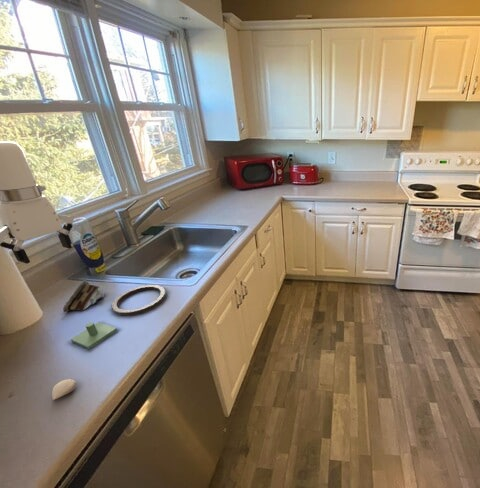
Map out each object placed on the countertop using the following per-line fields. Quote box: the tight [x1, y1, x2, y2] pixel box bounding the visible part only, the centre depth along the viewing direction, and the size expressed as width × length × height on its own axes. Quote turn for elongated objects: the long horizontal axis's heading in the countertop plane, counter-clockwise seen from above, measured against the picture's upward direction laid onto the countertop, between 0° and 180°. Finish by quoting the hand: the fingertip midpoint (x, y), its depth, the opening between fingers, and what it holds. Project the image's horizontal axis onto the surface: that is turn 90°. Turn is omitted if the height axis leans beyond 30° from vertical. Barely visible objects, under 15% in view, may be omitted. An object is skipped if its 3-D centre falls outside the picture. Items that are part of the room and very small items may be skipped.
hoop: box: [111, 284, 167, 317], centre depth 99 cm, size 16×16×1 cm
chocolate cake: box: [62, 277, 105, 313], centre depth 98 cm, size 10×7×12 cm
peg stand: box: [70, 321, 118, 350], centre depth 82 cm, size 8×8×4 cm
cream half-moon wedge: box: [51, 378, 77, 400], centre depth 66 cm, size 4×5×2 cm
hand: (47, 254), depth 77 cm, fingers open, 9 cm apart
